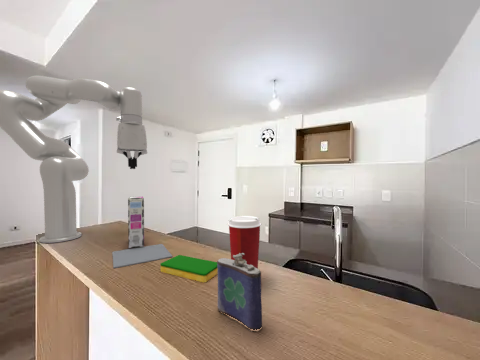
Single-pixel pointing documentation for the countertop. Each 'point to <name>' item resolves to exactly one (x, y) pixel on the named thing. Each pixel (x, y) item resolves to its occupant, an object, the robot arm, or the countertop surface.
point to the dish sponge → (190, 268)
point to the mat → (139, 255)
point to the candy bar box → (135, 222)
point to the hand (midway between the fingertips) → (132, 168)
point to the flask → (240, 291)
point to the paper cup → (245, 238)
